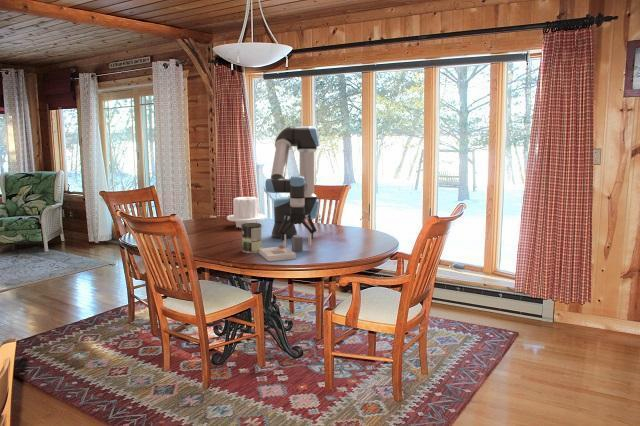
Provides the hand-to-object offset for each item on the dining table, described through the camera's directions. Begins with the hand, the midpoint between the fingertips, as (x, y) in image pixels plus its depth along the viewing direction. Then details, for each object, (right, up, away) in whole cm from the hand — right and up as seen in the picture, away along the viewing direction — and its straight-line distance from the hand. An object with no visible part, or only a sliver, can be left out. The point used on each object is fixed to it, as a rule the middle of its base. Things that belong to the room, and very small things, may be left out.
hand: (297, 246), depth 273 cm
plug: (0, -2, +1) cm, 2 cm away
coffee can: (-24, -3, +1) cm, 24 cm away
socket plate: (-10, -4, -10) cm, 15 cm away
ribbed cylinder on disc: (-36, +8, +70) cm, 79 cm away
